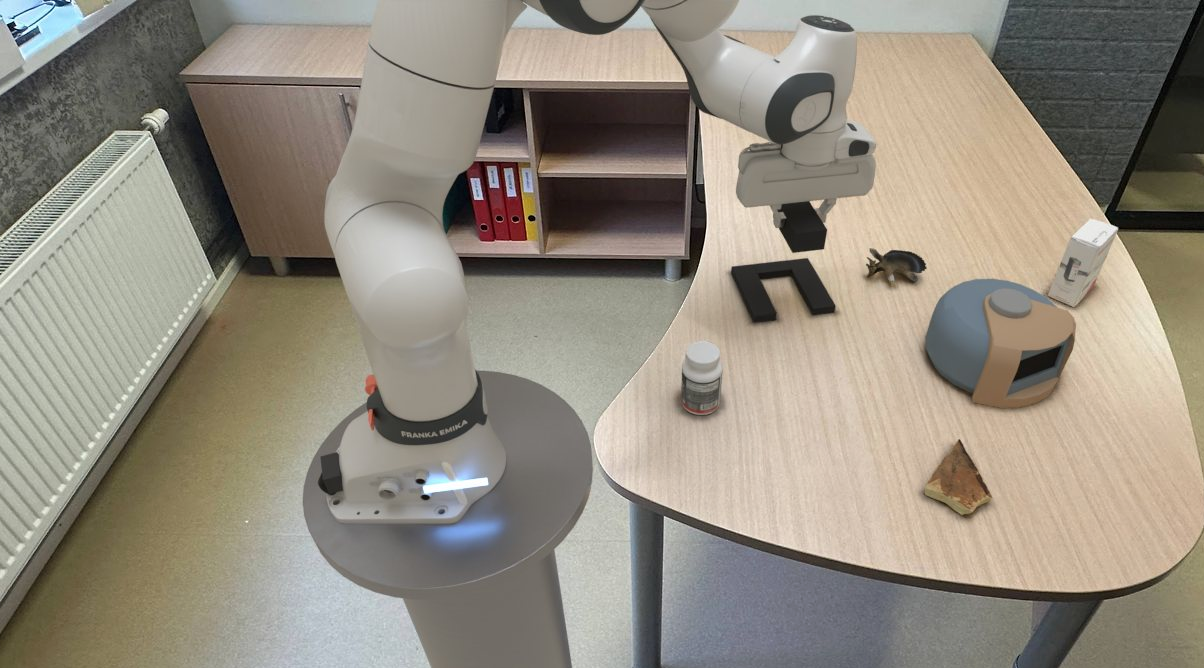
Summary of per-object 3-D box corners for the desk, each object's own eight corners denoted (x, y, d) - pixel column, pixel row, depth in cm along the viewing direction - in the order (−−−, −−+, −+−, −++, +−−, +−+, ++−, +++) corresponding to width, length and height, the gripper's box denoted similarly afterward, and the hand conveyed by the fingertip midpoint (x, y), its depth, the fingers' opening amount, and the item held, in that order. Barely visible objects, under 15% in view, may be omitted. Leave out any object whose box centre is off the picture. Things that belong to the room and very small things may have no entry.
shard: (956, 445, 109) (959, 436, 107) (1009, 473, 105) (1013, 464, 104) (920, 492, 102) (923, 483, 101) (975, 523, 99) (979, 515, 98)
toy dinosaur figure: (876, 292, 132) (929, 282, 131) (870, 250, 131) (924, 239, 130) (866, 288, 139) (916, 279, 139) (860, 248, 138) (911, 239, 138)
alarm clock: (984, 423, 112) (1011, 360, 103) (897, 340, 125) (914, 278, 116) (1082, 384, 118) (1115, 321, 109) (989, 309, 131) (1012, 248, 122)
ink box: (1065, 274, 138) (1091, 215, 130) (1094, 286, 136) (1122, 227, 128) (1044, 296, 134) (1070, 236, 125) (1073, 308, 131) (1101, 248, 123)
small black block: (792, 253, 117) (795, 233, 114) (772, 217, 124) (774, 198, 121) (824, 249, 117) (827, 229, 115) (802, 214, 125) (805, 194, 122)
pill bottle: (688, 385, 117) (690, 334, 110) (724, 394, 115) (729, 343, 108) (675, 411, 113) (676, 359, 106) (713, 420, 111) (717, 369, 105)
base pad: (753, 323, 127) (754, 315, 126) (730, 273, 137) (731, 266, 136) (834, 312, 130) (836, 305, 129) (806, 264, 140) (807, 257, 138)
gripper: (745, 155, 106) (738, 242, 116) (887, 142, 109) (869, 227, 119) (733, 134, 111) (728, 219, 120) (870, 122, 114) (854, 206, 123)
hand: (799, 223), depth 120 cm, fingers closed on small black block, 5 cm apart
